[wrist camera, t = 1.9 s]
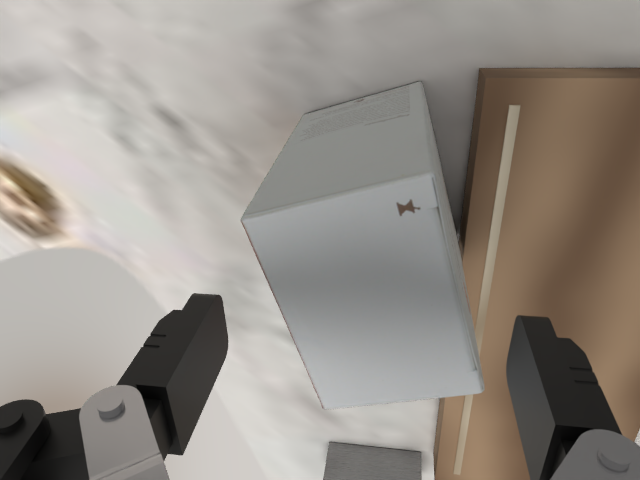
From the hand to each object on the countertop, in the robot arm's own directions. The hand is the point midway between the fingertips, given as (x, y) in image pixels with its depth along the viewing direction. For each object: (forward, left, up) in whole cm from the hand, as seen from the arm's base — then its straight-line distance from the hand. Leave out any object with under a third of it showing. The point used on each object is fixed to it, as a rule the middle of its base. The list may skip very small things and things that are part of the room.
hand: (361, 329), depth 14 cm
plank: (-9, +7, -12) cm, 16 cm away
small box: (0, 0, -12) cm, 12 cm away
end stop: (0, +20, -12) cm, 23 cm away
